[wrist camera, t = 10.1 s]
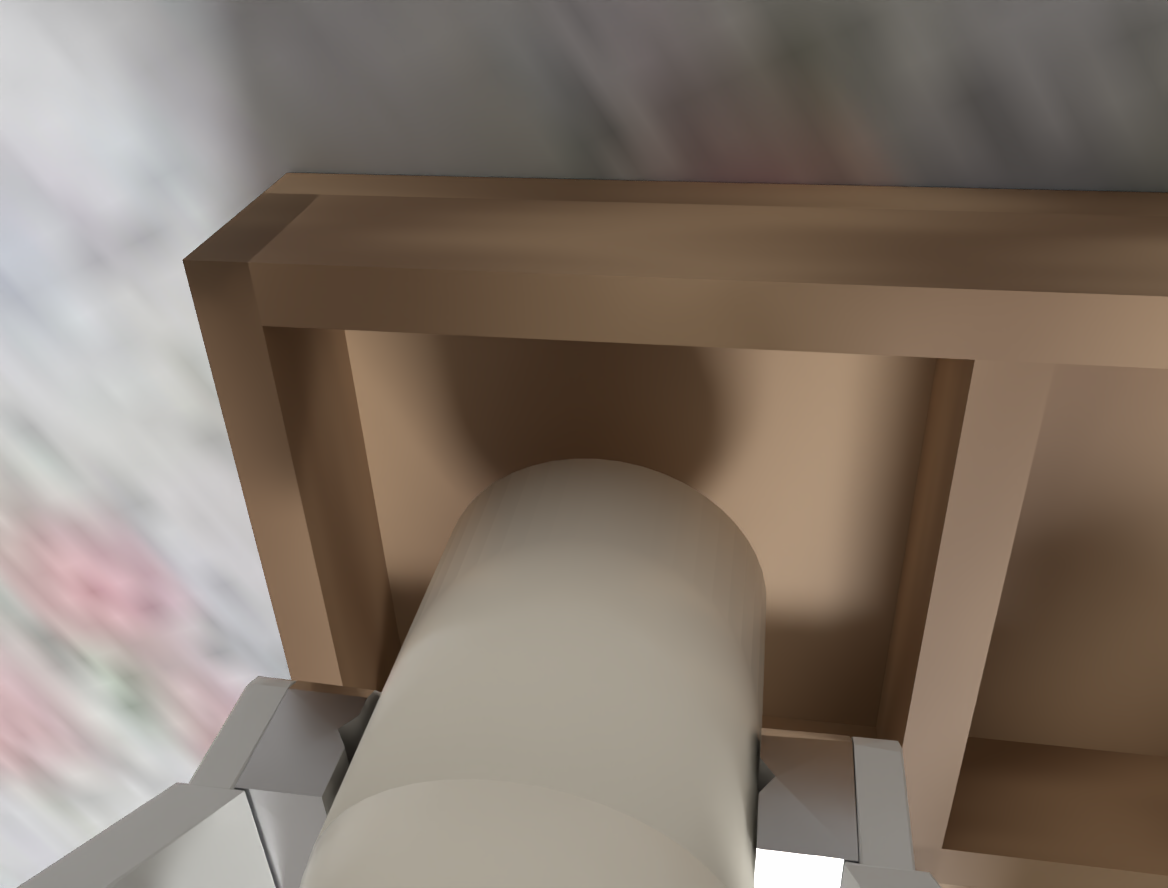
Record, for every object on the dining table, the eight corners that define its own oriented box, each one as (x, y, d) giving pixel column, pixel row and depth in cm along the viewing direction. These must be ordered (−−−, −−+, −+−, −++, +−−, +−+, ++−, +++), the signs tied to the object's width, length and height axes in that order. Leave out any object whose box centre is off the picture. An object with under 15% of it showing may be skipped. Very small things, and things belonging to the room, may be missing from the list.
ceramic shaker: (776, 469, 13) (756, 1087, 7) (758, 721, 15) (734, 1341, 9) (427, 448, 14) (138, 993, 8) (462, 693, 16) (264, 1252, 10)
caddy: (1863, 207, 12) (2150, 334, 9) (1304, 1072, 22) (1368, 1243, 19) (287, 173, 15) (182, 259, 12) (436, 947, 25) (396, 1081, 22)
